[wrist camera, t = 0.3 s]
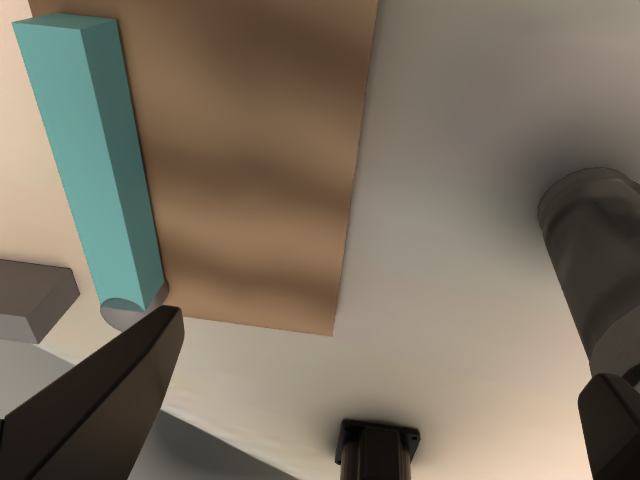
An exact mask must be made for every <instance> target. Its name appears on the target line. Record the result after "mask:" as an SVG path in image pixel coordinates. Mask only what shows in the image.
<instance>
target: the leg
mask: <svg viewBox="0 0 640 480" xmlns="http://www.w3.org/2000/svg"><path fill="white" fill-rule="evenodd" d="M12 25H13V29H14V32H15V35H16V38H17V41H18V44H19V48H20V51H21V54H22V57H23V60H24V63H25V67H26V70H27V73H28V76H29V79H30V82H31V86H32V89H33V92H34V95H35V98H36V101H37V105H38V108H39V111H40V114H41V117H42V120H43V124H44V127H45V130H46V133H47V136H48V139H49V143H50V146H51V149H52V152H53V155H54V158H55V162H56V165H57V168H58V171H59V174H60V177H61V181H62V184H63V187H64V190H65V193H66V196H67V200H68V203H69V206H70V209H71V212H72V216H73V219H74V222H75V225H76V228H77V231H78V235H79V238H80V241H81V244H82V247H83V250H84V254H85V257H86V260H87V263H88V266H89V269H90V273H91V276H92V279H93V282H94V285H95V288H96V292H97V295H98V298H99V301H100V304H101V306H100V312H101V315H102V317H103V318H104V320H105V321H106V322H107V323H108V324H109V325H111V326H112V327H113V328H115V329H117V330H119V331H121V332H124V331H125V330H126V329H128V328H129V327H131V326H132V325H133V324H135V323H136V322H138V321H139V320H140V319H142V318H143V317H145V316H146V315H148V314H149V313H150V312H152V311H153V310H155V309H156V308H157V307H159V306H161V305H163V303H164V302H165V300H166V298H167V296H168V287H167V285H166V283H165V281H164V277H163V271H162V266H161V260H160V255H159V250H158V244H157V239H156V233H155V228H154V223H153V217H152V212H151V206H150V201H149V196H148V190H147V185H146V179H145V174H144V169H143V163H142V158H141V152H140V147H139V142H138V136H137V131H136V125H135V120H134V115H133V109H132V104H131V98H130V93H129V88H128V82H127V77H126V71H125V66H124V61H123V55H122V50H121V44H120V39H119V34H118V28H117V23H116V19H110V18H100V17H91V16H81V15H72V14H62V13H52V14H48V15H43V16H39V17H34V18H29V19H25V20H20V21H16V22H12Z"/></svg>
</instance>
